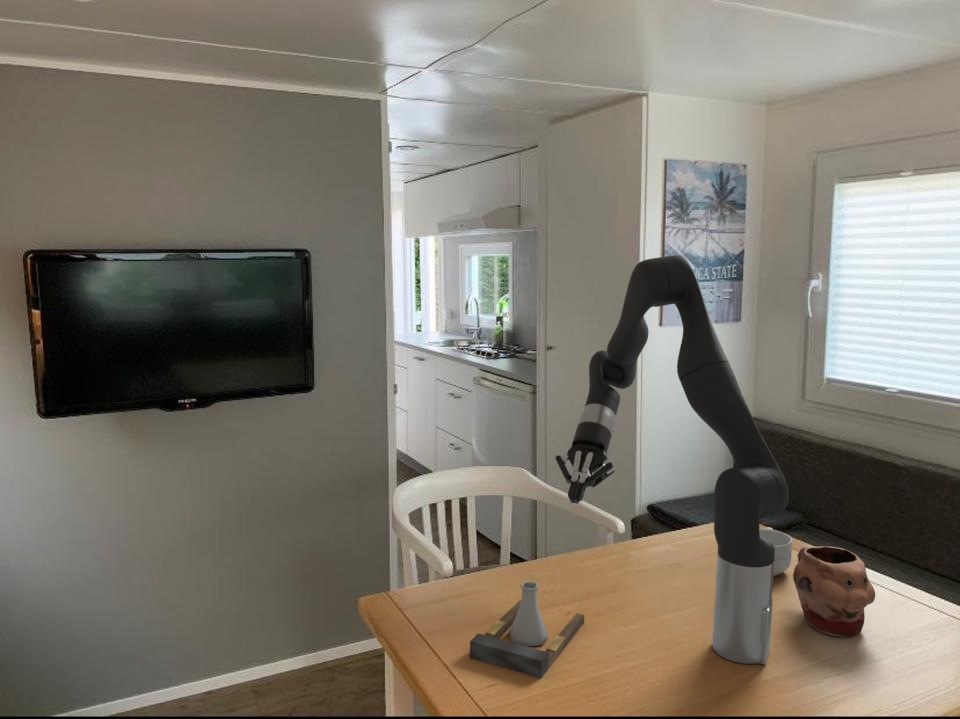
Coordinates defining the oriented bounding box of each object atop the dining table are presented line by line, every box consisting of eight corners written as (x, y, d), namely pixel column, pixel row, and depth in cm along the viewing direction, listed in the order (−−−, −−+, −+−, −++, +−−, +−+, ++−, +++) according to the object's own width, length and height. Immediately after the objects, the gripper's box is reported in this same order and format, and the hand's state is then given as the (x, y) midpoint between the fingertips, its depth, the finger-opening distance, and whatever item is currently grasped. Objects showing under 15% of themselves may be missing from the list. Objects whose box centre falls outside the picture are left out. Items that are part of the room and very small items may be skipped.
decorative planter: (765, 601, 149) (770, 535, 147) (817, 595, 152) (822, 530, 150) (835, 652, 130) (841, 576, 128) (893, 644, 132) (900, 570, 131)
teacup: (782, 585, 156) (784, 549, 155) (730, 572, 163) (733, 537, 162) (799, 564, 167) (802, 530, 166) (750, 552, 174) (752, 520, 173)
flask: (549, 629, 137) (550, 577, 135) (547, 649, 129) (548, 595, 128) (510, 626, 138) (511, 575, 136) (506, 646, 130) (507, 592, 129)
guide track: (584, 623, 139) (584, 607, 139) (541, 678, 120) (541, 660, 120) (519, 607, 145) (520, 592, 144) (469, 657, 126) (470, 641, 126)
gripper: (561, 417, 159) (538, 487, 149) (621, 423, 153) (601, 497, 143) (569, 436, 164) (547, 505, 155) (627, 443, 158) (609, 515, 149)
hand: (573, 501), depth 149 cm, fingers closed
